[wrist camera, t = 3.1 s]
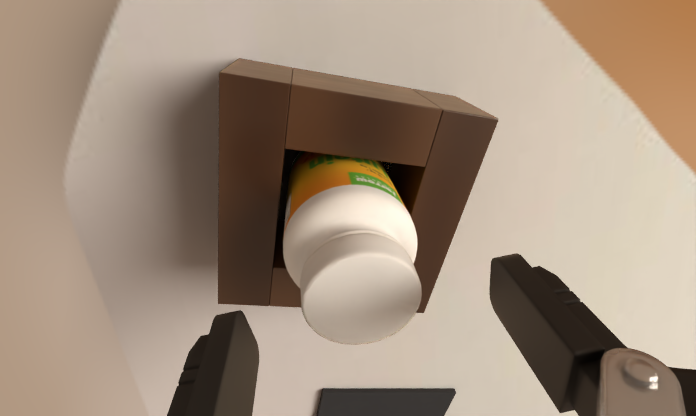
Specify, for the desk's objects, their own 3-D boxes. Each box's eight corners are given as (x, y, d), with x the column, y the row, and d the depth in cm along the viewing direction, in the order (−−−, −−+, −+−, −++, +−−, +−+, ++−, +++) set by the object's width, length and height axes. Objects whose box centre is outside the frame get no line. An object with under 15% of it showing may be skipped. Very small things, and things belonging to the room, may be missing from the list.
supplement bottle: (387, 134, 19) (460, 232, 10) (378, 219, 21) (429, 354, 13) (286, 131, 18) (274, 235, 9) (289, 220, 20) (281, 364, 12)
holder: (233, 250, 21) (217, 304, 17) (238, 58, 16) (218, 71, 12) (403, 263, 23) (424, 313, 19) (456, 96, 18) (499, 118, 14)
